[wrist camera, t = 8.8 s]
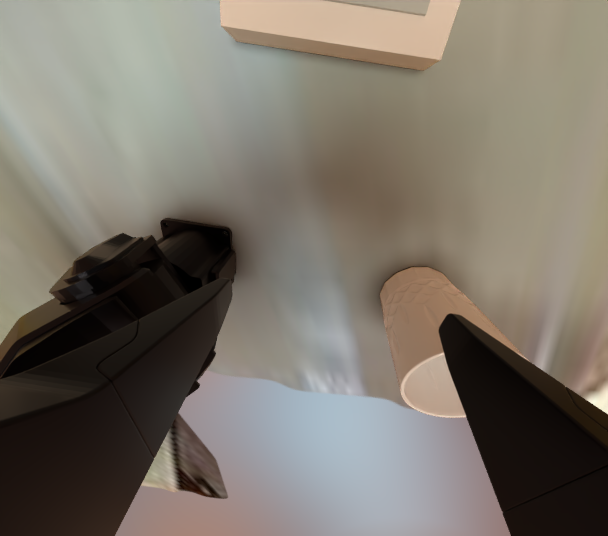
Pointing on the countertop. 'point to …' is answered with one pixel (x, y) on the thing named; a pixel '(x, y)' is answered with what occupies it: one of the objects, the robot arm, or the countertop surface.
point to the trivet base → (347, 28)
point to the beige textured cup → (427, 337)
